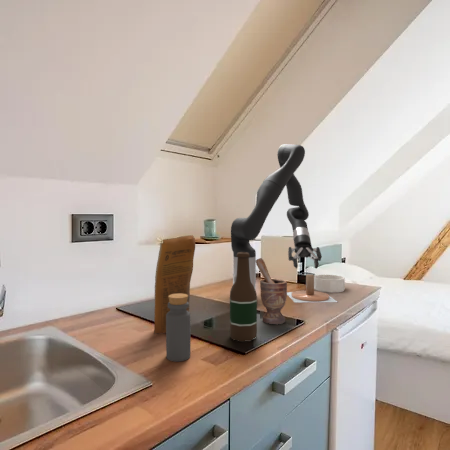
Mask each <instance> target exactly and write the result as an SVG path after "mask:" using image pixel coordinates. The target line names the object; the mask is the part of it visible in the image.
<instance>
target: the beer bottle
mask: <svg viewBox="0 0 450 450" xmlns="http://www.w3.org/2000/svg"><path fill="white" fill-rule="evenodd" d="M237 257H238V260H237V276H236V281H235V283H234V284H233V283H232V285H231V287H230V291H229V335H230V338H231V340H232V339H235V340H239V341H245V340H252V339H253V338H255V337H256V338H257V334H258V300H257V299H258V295H257V292H256V291H257V290H256V291H255V288H254V286H253V284H252V283H251V280H250V270H249V257H250V255H249V253H247V252H239V253H237Z"/></svg>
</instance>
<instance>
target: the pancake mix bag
mask: <svg viewBox="0 0 450 450" xmlns="http://www.w3.org/2000/svg"><path fill="white" fill-rule="evenodd" d="M195 250H196V239H195V237H194V235H193V234H191V235H183V236H178V237H172V238H171V237H170V238H165V239H162V242H161V243H160V245H159V250H158V251H159V252H158V255H157V260H156V261H157V262H156V269H155V276H154V278H155V279H154V280H155V283H154V313H153V315H154V316H153V318H154V319H153V320H154V326H153V327H154V329H153V334H156V333H161V334H166V314H167V313H168V312H169V311H170V309H169V308H168V303H169V297H168V296H169V295H171V294H178V293H181V294H187V295H188V299H187V302H188V303H189V304H190V297H191V296H190V295H191V294H190V292H191V280H192V275H193V269H194V257H195ZM186 310H187V311H189V312H190V306H189V307H188V308H186ZM156 335H157V334H156Z"/></svg>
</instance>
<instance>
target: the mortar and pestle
mask: <svg viewBox="0 0 450 450" xmlns="http://www.w3.org/2000/svg"><path fill="white" fill-rule="evenodd" d="M266 265H267V264H266V262H265V261H264V259H263V257H260V258H256V266H257V269H259V270H258V271H259V272H260V273H261V275H262V277H263V278H264V279H262V280H259V282H260V285H259V286H260V299H261V303H262V305H263V306H264V307H265V309H266V312H265V313H264V315H262V322H263V323H265V324H268V323H269V325H270V324H271V325H278V324H281V323H282V324H284V323H285V322H286V318H285V316H284V315H283V314H282V312H281V311H282V309H283V308H284V307H285V306H286V301H287V297H288V295H287V292H288V282H287V280H283V279H276V278H275V279H274V278H271V276H270V274H269V271H268V268H267V266H266ZM282 324H281V325H282Z"/></svg>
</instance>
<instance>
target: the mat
mask: <svg viewBox="0 0 450 450" xmlns="http://www.w3.org/2000/svg"><path fill="white" fill-rule="evenodd" d="M292 292H293V291H289V292H288V291H287V297H289V298H290V299H291V301H292V302H293V303H295V304H298V303H338V300H336V299H334V298H333V297H331V296H330V295H329V299H328V300H325V301H303V300H298V299H295V298H293V297H292Z"/></svg>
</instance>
